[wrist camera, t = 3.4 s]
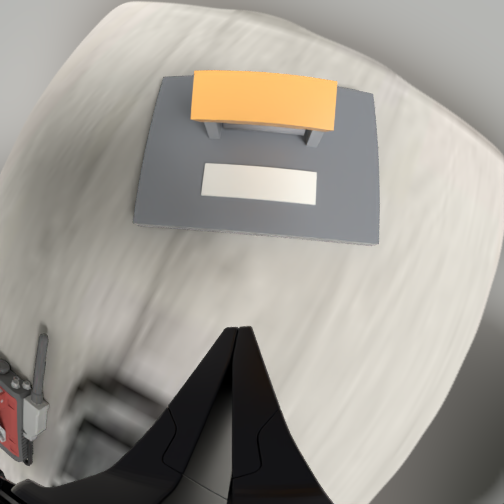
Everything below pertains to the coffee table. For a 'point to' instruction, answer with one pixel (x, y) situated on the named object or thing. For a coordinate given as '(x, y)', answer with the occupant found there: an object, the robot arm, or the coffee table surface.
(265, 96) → the breaker lever
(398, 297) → the coffee table surface
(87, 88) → the coffee table surface
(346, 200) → the box
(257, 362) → the robot arm
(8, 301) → the coffee table surface
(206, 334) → the coffee table surface
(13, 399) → the walkie-talkie
